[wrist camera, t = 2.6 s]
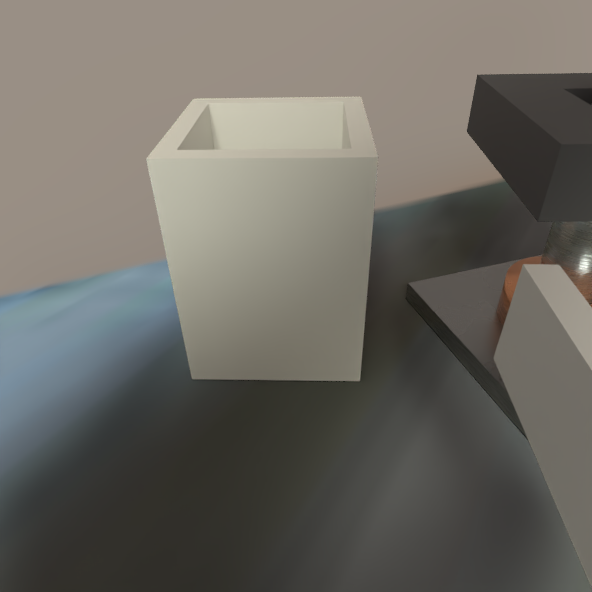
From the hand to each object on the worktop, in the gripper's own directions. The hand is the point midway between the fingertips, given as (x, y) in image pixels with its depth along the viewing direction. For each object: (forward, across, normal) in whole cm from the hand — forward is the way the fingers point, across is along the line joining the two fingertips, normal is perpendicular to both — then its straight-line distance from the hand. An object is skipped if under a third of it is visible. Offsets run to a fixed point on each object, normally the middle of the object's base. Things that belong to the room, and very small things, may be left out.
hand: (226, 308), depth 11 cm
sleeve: (+10, 0, -9) cm, 13 cm away
